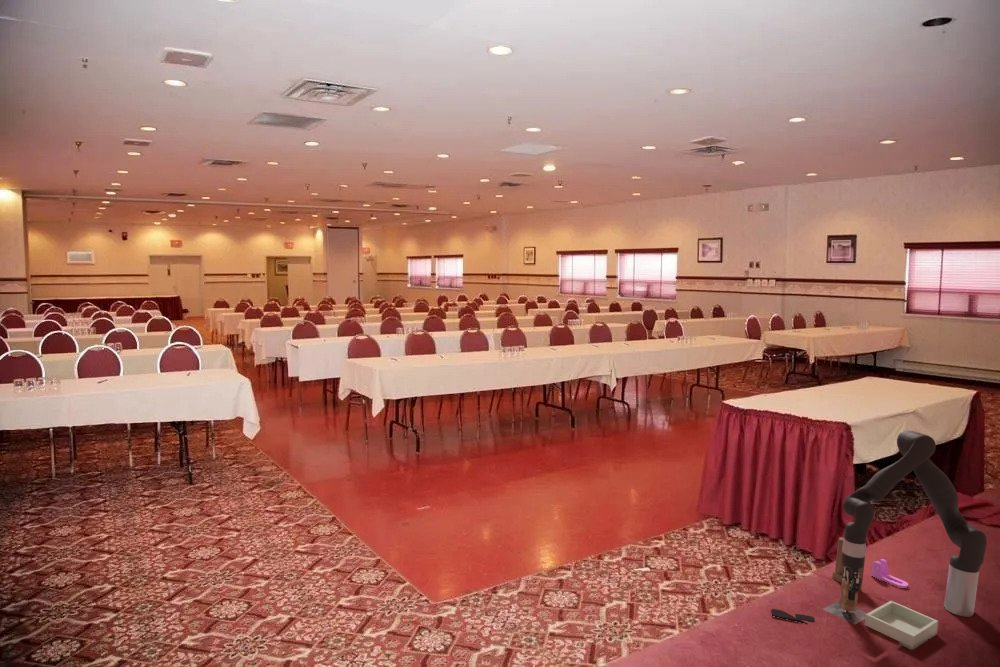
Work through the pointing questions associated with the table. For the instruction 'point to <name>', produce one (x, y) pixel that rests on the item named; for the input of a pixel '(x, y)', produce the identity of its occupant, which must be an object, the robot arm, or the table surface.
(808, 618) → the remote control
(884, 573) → the bracket
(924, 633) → the tray
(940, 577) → the table surface
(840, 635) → the table surface
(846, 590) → the strut
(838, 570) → the brown wooden angled stand
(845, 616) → the stud plate
